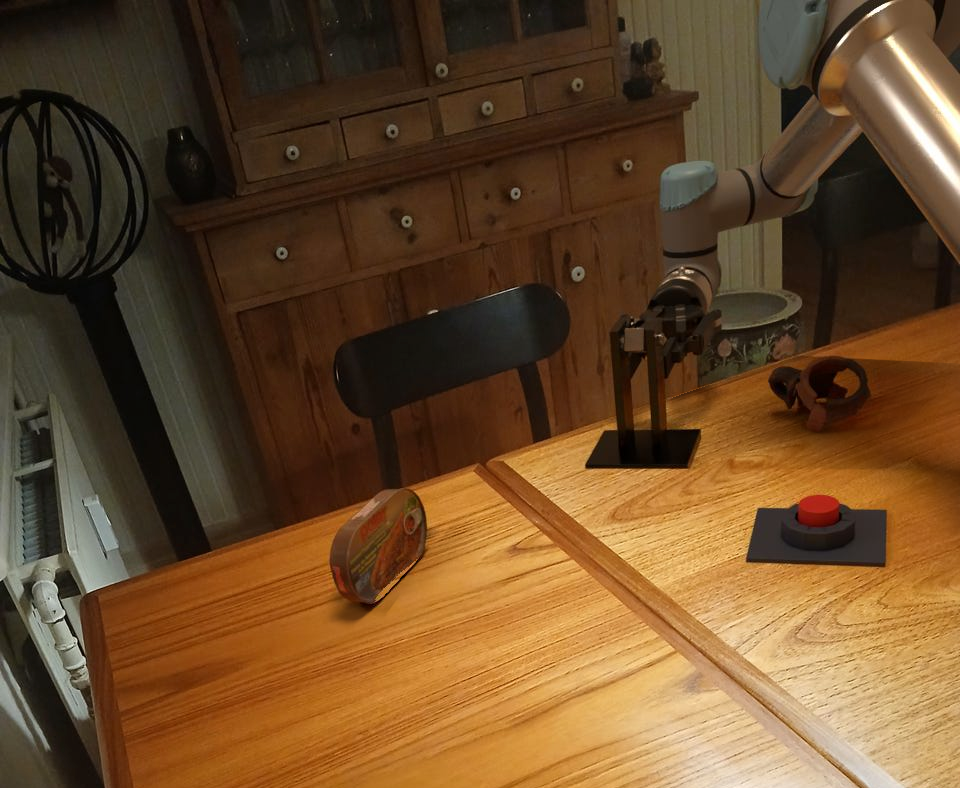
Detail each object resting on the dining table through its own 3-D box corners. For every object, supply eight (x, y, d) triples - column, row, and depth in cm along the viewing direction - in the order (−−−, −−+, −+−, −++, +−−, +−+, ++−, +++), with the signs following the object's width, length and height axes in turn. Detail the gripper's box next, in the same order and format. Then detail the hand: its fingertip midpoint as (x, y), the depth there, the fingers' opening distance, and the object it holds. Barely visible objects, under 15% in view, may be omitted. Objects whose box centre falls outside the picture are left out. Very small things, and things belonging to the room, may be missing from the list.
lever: (642, 364, 122) (642, 334, 121) (671, 363, 121) (672, 333, 120) (617, 356, 110) (618, 323, 109) (649, 355, 109) (650, 321, 108)
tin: (363, 619, 97) (343, 545, 92) (337, 616, 98) (316, 542, 93) (435, 545, 107) (420, 474, 103) (410, 542, 109) (394, 473, 104)
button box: (885, 529, 96) (888, 492, 93) (883, 583, 88) (887, 544, 86) (757, 526, 100) (757, 491, 98) (746, 578, 92) (745, 540, 90)
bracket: (604, 438, 124) (593, 313, 115) (701, 437, 120) (697, 307, 111) (585, 473, 116) (572, 342, 108) (687, 474, 112) (682, 337, 103)
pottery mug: (868, 402, 122) (885, 357, 114) (846, 462, 118) (861, 420, 111) (773, 377, 125) (783, 332, 118) (748, 435, 122) (757, 392, 114)
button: (839, 511, 93) (840, 494, 92) (837, 529, 90) (838, 512, 89) (799, 510, 94) (800, 494, 93) (796, 528, 91) (796, 512, 90)
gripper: (616, 281, 134) (573, 339, 116) (742, 273, 128) (716, 333, 110) (620, 335, 138) (579, 400, 120) (742, 330, 132) (718, 397, 114)
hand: (645, 368), depth 115 cm, fingers closed on lever, 4 cm apart
